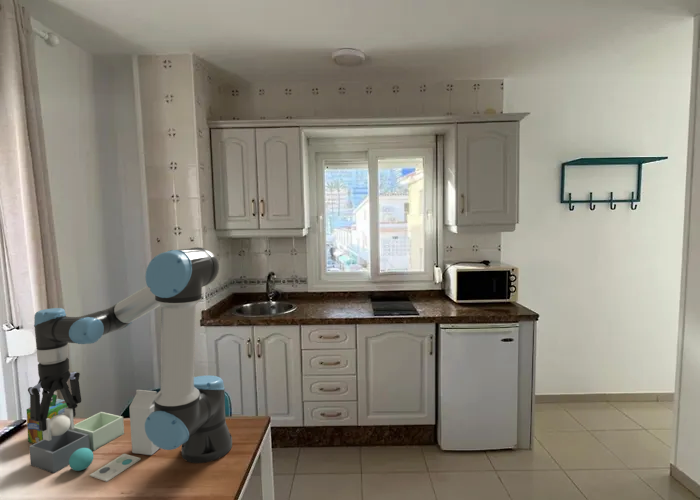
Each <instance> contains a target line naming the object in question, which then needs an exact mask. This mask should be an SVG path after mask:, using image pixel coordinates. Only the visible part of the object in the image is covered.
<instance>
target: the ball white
mask: <svg viewBox="0 0 700 500" xmlns="http://www.w3.org/2000/svg"><path fill="white" fill-rule="evenodd" d="M50 425H51V435H52V436H59V435H62V434H64V433H65V432H66V431H67V430H68V429H69V427H70V419H69V417H67V416H66V415H56V416H54V417H52V418H51V419H50Z"/></svg>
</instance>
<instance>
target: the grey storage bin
mask: <svg viewBox="0 0 700 500" xmlns="http://www.w3.org/2000/svg"><path fill="white" fill-rule="evenodd" d="M51 438H52V440H50V441H47V440H44V439H43V440H41V441H39V442H37V443H32V444H31V445H29V446H28V447H29V449H28V450H29V458H30V459H29V460H30V466H32V467H35V468H37V469H40V470H43V471H45V472H48V473H49V472H50V473H52V474H55V473H58V472H59V471H61V470H62V469H65V468H66V467H68V466H70V465H69V459H70V456H71V455H72V454H73V453H74V452H75V451H76V450H78V449H80V448H88V449H90V446H89V435H88V434H84V433H80V432H77V431H73V430H70V429H68V430H67V431H66V432H65V433H64V434H62V435H59V436H51Z"/></svg>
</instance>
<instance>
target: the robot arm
mask: <svg viewBox="0 0 700 500" xmlns="http://www.w3.org/2000/svg"><path fill="white" fill-rule="evenodd" d="M219 270H220V264H219V261H218V257H217V256H216V255H215V254H214V253H213V252H212V251H210V250H209V249H207V248H203V247H198V246H197V247H190V248H181V249H171V250H167V251H164V252H160V253H158V254H157V255H155V256H153V258H152V259H151V260H150V262H149V263H148V265H147V267H146V270H145V284H146V285H145V286H144V287H142V288H140V289H139V290H137V291H135V292H133V293H132V294H131V295H129V296H127V297H126V298H124V299H122V300H120V301H118V302H117V303H116V304H113V305H112V306H110V307H108V308H105V309H103V310H99V311H95V312H91V313H88V314H84V315H81V316H67V313H66V310H65V309H64V308H63V307H52V308H45V309H41V310H38V311H36V312H35V314H34V320H33V321H34V323H33V324H34V325H33V328H34V336H35V347H36V357H37V362H38V364H37V371H38V372H37V373H38V377H39V380H38V382H37V384H35V385H33V386H29V387H28V388H27V391H28V394H29V398H30V399H29V401H30V403H29V406H30V407H29V408H30V419H31V420H33V421H39V429H40V431H42V432H43V439H44V440H47V441H50V440H52V438H51V425H50V419H49V418H47V416H48V411H49V407H50V403H51V399H52V396H53V395H54V394H55V392H56V391H58V390H59V392H60V394H61V396H62V398H63V400H65V402H66V405H67V406H68V407H66V408H64V409H65V415H66V416H67V417H69V419H70V427H69V429H70V430H72V429H74V425H75V424H74V423H75V421H74V418H75V417H76V414H77V413H76V409H77V408H78V404H80V403H82V396H81V387H80V380H79V379H80V375H81V374H80V372H77V371H72V372H70V362H69V361H70V360H69V358H68V357H69V345H68V343H69V344H78V345H91V344H95V343H97V342H98V341H99V340H100V339H101V338H102V337H103V336H104V335H107V334H109V333H112V332H116V331H119V330H120V331H121V330H122V329H123V330H124V329H125V328H127V327H129V326H131V324H133V321H136V320H138V319H140V318H141V317H143V316H145V315H147V314H148V313H150V312H152V311H154V310H155V309H157V308H160V307H161V309H160V310H161V313H160V314H161V316H160V317H161V319H160V321H161V323H160V324H161V325H160V327H161V328H160V390H159V391H158V392H156V395H155V398H154V412H152V413H151V414H150V415H149V416H148V417H147V419H146V421H145V432H146V435H147V437H148V438H149V440H150V441H152V442H153V444H154V445H155V446H157V447H159V448H160V449H161V450H165V451H166V450H167V451H172V450H176V449H177V448H179V447H180V446H181V449H180V450H181V457H182V459H183V460H185V462H188V463H191V464H192V463H193V464H204V463H209V462H213V461H216V460H219V459H221V458H222V457H224V456H226V455H227V454H228V453H229V452H230V451H231V449H232V447H233V437H232V433H230V430H229V427H228V425H227V422H226V399H225V395H226V394H225V390H226V389H225V385H224V384H225V383H224V380H223V379H222V377H220V376H216V375H198V376H195V359H196V358H195V354H196V353H195V352H196V346H195V345H196V307H197V306H196V305H197V304H198V303H199V302H200V301H201V300H202V292H203V290H202V288H203V287H206V286H208V285H210V284H212V283H213V282H214V281H215V279H216V278H217V276H218V274H219V272H220V271H219ZM68 381H69V385H70V387H69V385H68ZM41 389H42V392H41ZM40 393H41V394H40ZM41 395H42V396H41ZM40 403H41V404H40Z"/></svg>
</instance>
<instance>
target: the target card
mask: <svg viewBox="0 0 700 500" xmlns="http://www.w3.org/2000/svg"><path fill="white" fill-rule="evenodd" d="M139 461H141V457H137V456H134V455H130V454H127V453H122V454H121V455H119V456H118V457H116V458H115V459H113V460H112V461H109V462H108V463H106V464H104V465H103V466H102V467H100V468H99V469H96V470H95V471H94V472H92V473H90V474H89V477H91V478H95V479H98V480H100V481H104V482H107V483H108V482H109V481H111V480H112V479H113V478H115V477H117V476H119V475H120V474H121V473H123V471H125V470H127V469H129V468H130V467H131V466H133V465H135V464H136V463H138V462H139Z"/></svg>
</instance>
